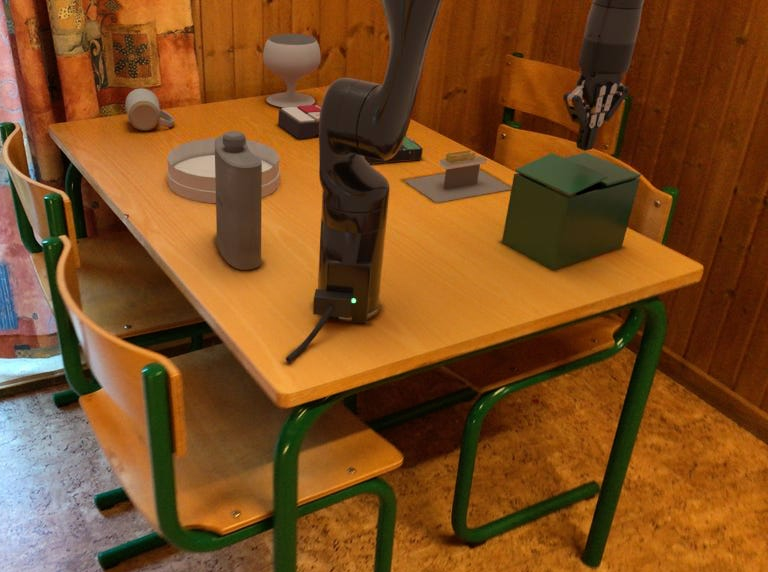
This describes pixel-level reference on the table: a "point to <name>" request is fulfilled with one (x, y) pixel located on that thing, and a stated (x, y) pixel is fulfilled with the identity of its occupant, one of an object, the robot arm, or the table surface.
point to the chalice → (291, 65)
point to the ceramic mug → (146, 110)
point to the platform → (458, 179)
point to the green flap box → (571, 215)
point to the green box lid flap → (561, 174)
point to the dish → (213, 169)
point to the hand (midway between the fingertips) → (584, 148)
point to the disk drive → (402, 153)
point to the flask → (238, 201)
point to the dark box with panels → (300, 120)
